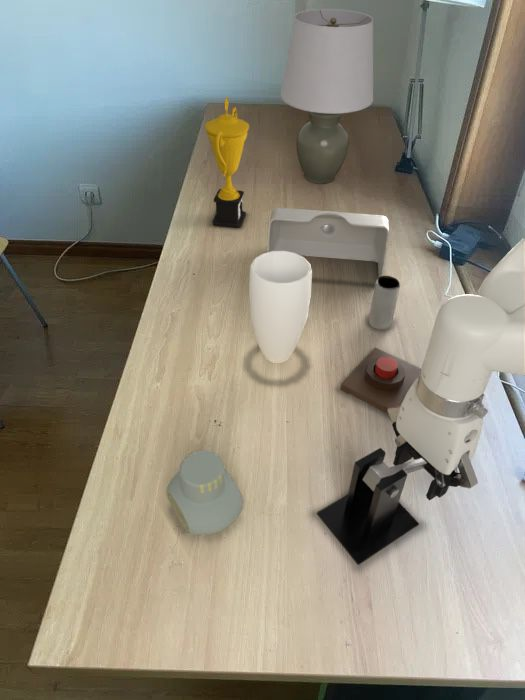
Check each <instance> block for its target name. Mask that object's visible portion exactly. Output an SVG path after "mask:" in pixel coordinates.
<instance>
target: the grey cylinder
mask: <svg viewBox="0 0 525 700" xmlns="http://www.w3.org/2000/svg"><path fill="white" fill-rule="evenodd" d="M400 289H401V282H400V280H399V279H398V278H396V277H394V276H390V275H383V276H381V277H379V276H378V277H377V278H376V280H375V283H374V288H373V295H372V300H371V303H370V310H369V316H368V325H370V326H371V327H373V328H375V329H377V330H386V329H390V328H391V326H392V325H393V324H392V323H393V320H394V315H395V310H396V305H397V301H398V297H399V293H400Z"/></svg>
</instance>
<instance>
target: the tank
mask: <svg viewBox="0 0 525 700" xmlns="http://www.w3.org/2000/svg"><path fill="white" fill-rule="evenodd" d="M389 226H390V225H389V219H388V217H387V216H385V215H383V214H371V213H354V212H343V211H330V210H329V211H328V210H317V209H314V210H313V209H304V208H303V209H301V208H289V207H275V208H273V209H272V211H271V214H270V217H269V222H268V232H267V246H266V247H267V248H266V249H267V251H266V253H267V252H271V251H288V252H293V253H296V254H298V255H300V256H302V257H316V258H318V257H319V258H326V259H327V258H329V259H340V260H341V259H342V260H353V261H367V262H375V263H377V271H378V278H379V277H381V276H385V267H386V260H387V253H388V245H389V240H390V239H389V238H390V228H389Z"/></svg>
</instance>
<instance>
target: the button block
mask: <svg viewBox="0 0 525 700" xmlns="http://www.w3.org/2000/svg"><path fill="white" fill-rule="evenodd" d="M381 357H390V358H392V359H394V360H395V361H396V362H397V364H398V368H397V372H396V375H395V376H394V377H392V378H389V379H387V378H382V377H380V376H378V375H377V374H376V372H375V367H376V362H377V360H378V359H379V358H381ZM421 369H422V367H421V368H420V367H418V366H416V365H414V364H412V363H410V362H408V361H405V360H403V359H401V358H399V357H397V356H395V355H393V354H390V353H388V352H386V351H385V350H382V349H380V348H378V347H374V348H373V349H372V350H371V351H370V352H369V354H368V355H367V356H366V357H365V358H364V359H363V360H362V361H361V362H360V363H359V364H358V366H357V367H355V369H353V371H352V372H351V373H350V374H349V375H348V377H346V379H345V380H344V381H343V382H342V383H341V384H340V385H341V386H340V391H342V392H344V393H346V394H348V395H351V396H352V397H355V398H357V399H359V400H361V401H363V402H365V403H367V404H369V405H370V406H372V407H374V408H376V409H378V410H380V411H381V412H384V413H386V414H388V409H389V408H390V407H392V406H394V405H402V402H403V400H404V398H405V396H406V394H407V392H408V390H409V389H410V387H411V386H412V384H413V383H414V381H415V380H416V379H417V378H418V377H419V376H420V372H421Z"/></svg>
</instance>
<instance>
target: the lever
mask: <svg viewBox="0 0 525 700" xmlns="http://www.w3.org/2000/svg"><path fill="white" fill-rule="evenodd" d="M409 454H410V455H411V456H412V459H413V460H409V461H407V462H405V463H403V464H400V465H396V466H395V465H392V466H388V465H387V464H386V463H385V462H384V461H383V463H380V464H376V465H373V466H370V467H369V469H368V471H367V472H366V474H365V476H364V478H363V481H364V482H365V483H366V484H367V485H368V486H369V487H370V488H371V489H372V491H374V490H375V487H376V485H377V484H378V483H380V482H382V481H383V480H385V479H387V478H388V477H390V476H392V475H393V474H395V473H397V472H398V471H400V470H402V469H403V470H404V471H405V472H406V473H407V475H408V474H411V473H415V472H417V471H420V470H425V471H426V472H427V473H428V474H429V475H430V477H432V478H433V480H434V479H435V478H436V470H435V467H433V466H432V465H431V464H430V463H429V462H428V461H427V460H426V459H425V458H424V457H423V456H422V455H421V454H420V453H418V452H417V451H416V450H415V449H414V448H412V449H411V450H410V451H409Z"/></svg>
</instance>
